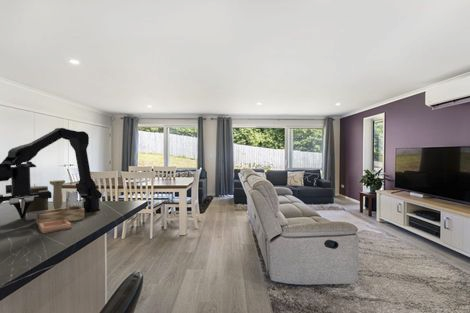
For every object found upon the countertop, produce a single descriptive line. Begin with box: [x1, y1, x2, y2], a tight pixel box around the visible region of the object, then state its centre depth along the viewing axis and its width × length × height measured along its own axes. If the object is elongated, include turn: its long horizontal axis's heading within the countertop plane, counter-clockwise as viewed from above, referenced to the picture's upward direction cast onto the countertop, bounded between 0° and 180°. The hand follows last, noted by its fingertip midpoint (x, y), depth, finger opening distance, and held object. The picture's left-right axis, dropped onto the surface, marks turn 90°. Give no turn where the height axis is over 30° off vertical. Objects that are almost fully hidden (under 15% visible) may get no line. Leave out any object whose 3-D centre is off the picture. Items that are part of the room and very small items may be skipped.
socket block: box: [35, 205, 85, 226], centre depth 109 cm, size 16×8×4 cm, turn 135°
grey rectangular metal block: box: [26, 210, 46, 221], centre depth 103 cm, size 6×3×2 cm, turn 135°
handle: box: [49, 179, 66, 209], centre depth 127 cm, size 5×6×15 cm
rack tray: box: [38, 219, 72, 234], centre depth 99 cm, size 9×9×2 cm
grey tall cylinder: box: [65, 191, 78, 211], centre depth 112 cm, size 4×4×9 cm
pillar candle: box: [20, 184, 49, 221], centre depth 115 cm, size 10×10×15 cm
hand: (22, 218), depth 100 cm, fingers closed
